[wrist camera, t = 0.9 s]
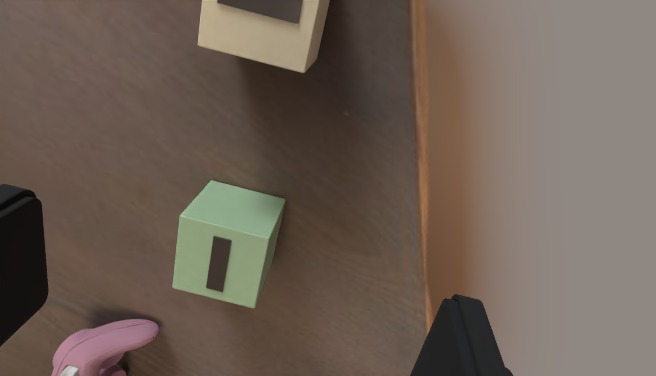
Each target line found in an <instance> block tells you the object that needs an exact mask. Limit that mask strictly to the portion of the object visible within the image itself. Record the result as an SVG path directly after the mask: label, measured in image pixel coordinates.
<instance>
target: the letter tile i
mask: <svg viewBox="0 0 656 376" xmlns="http://www.w3.org/2000/svg"><path fill="white" fill-rule="evenodd" d="M285 202H286V199H283V198H279V197H275V196H271V195H267V194H263V193H259V192H255V191H251V190H248V189H244V188H240V187H236V186H232V185H228V184H224V183H220V182H216V181H213V180H211V181H210V182H209V183H208V184H207V186H206V187H205V188H204V189H203V190H202V191H201V192H200V193H199V195H198V196H197V197H196V198H195V199H194V200H193V201H192V203H191V204H190V205H189V206H188V207H187V208H186V209H185V211H184V212H183V213H182V214H181V215H180V219H179V229H178V238H177V248H176V258H175V267H174V277H173V286H172V288H175V289H179V290H183V291H187V292H191V293H195V294H199V295H203V296H207V297H211V298H214V299H218V300H222V301H226V302H230V303H234V304H238V305H242V306H246V307H250V308H255V306H256V303H257V301H258V298H259V296H260V293H261V290H262V288H263V285H264V282H265V280H266V277H267V274H268V272H269V269H270V266H271V264H272V261H273V256H274V252H275V247H276V243H277V238H278V234H279V229H280V224H281V220H282V215H283V211H284V206H285Z"/></svg>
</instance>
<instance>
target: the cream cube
mask: <svg viewBox="0 0 656 376" xmlns="http://www.w3.org/2000/svg"><path fill="white" fill-rule="evenodd" d="M329 2H330V0H202V8H201V18H200V27H199V37H198V46H201V47H205V48H208V49H212V50H216V51H220V52H224V53H228V54H231V55H235V56H239V57H243V58H247V59H251V60H254V61H258V62H262V63H266V64H270V65H274V66H277V67H281V68H285V69H289V70H293V71H297V72H300V73H305V72H306V70H307V69H308V68H309V67H310V66H311V65H312V64H313V63H314V62H315V60H316V59H317V57H318V52H319V47H320V43H321V38H322V34H323V29H324V25H325V20H326V16H327V11H328V7H329Z"/></svg>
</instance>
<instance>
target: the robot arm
mask: <svg viewBox="0 0 656 376" xmlns="http://www.w3.org/2000/svg"><path fill="white" fill-rule="evenodd" d="M47 296H48V279H47V266H46V253H45V240H44V227H43V214H42V204H41V202H40V200H39V199H37V198H36V195H35V194H34V192H32V191H31V190H27V189H23V188H19V187H15V186H11V185H6V184H2V185H0V346H1V345H2V344H3V343H4V342H5V341H6V340H8V339H9V338H10V337H11V336H12V335H13V334H14V333H15V332H16V331H17V330H18V329H19V328H20V327H21V326H22V325H23V324H24V323H25V322H26V321H28V320H29V319H30V318H31V317H32V316H33V315H34V314H35V313H36V312H37V311H38V310H39V309H40V308H41V307H42V306H43V305H44V303H45V301H46V299H47ZM410 376H513V374H512V373H511V371H510V370H509V369H507V368H505V366H504V363H503V360H502V357H501V355H500V352H499V349H498V346H497V343H496V340H495V337H494V334H493V332H492V329H491V326H490V323H489V321H488V317H487V315H486V312H485V309H484V306H483V304H482V302H481V301H480V300H478V299H473V298H470V297H466V296H461V295H457V294H455V295H454V296H452V298H451V299H444V300H443V301H442V303H441V306H440V308H439V310H438V312H437V315H436V317H435V319H434V322H433V324H432V326H431V329H430V331H429V333H428V336H427V338H426V340H425V342H424V345H423V347H422V349H421V352H420V354H419V356H418V359H417V361H416V363H415V366H414V368H413V370H412V372H411V375H410Z"/></svg>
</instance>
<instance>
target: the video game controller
mask: <svg viewBox="0 0 656 376" xmlns="http://www.w3.org/2000/svg"><path fill="white" fill-rule="evenodd" d="M158 333H159V327H158V325H157V324H156V323H155V322H153V321H150V320H145V319H128V320H122V321H117V322H113V323H109V324H106V325H103V326H100V327H97V328H94V329H83V330H80V331H78V332H76V333H74V334H72V335H71V336H69V337H68V338H67V339H66V340H65V341H64V342H63V343H62V344H61V345H60V347H59V348H58V350H57V351H56V353H55V355H54V358H53V367H54V370H53V372H52V375H51V376H126V373H125V371H124V370H122V368H120V367H119V366H118V365H117V364H116V363H117V362H118V361H119V360H120V359H121V358H122V357H123V355H124V353H125V352H126V351H129V350H133V349H136V348H139V347H141V346H144V345H146V344H147V343H149V342H151V341H152V340H153V339H155V337H156V336H157V335H158Z"/></svg>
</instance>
